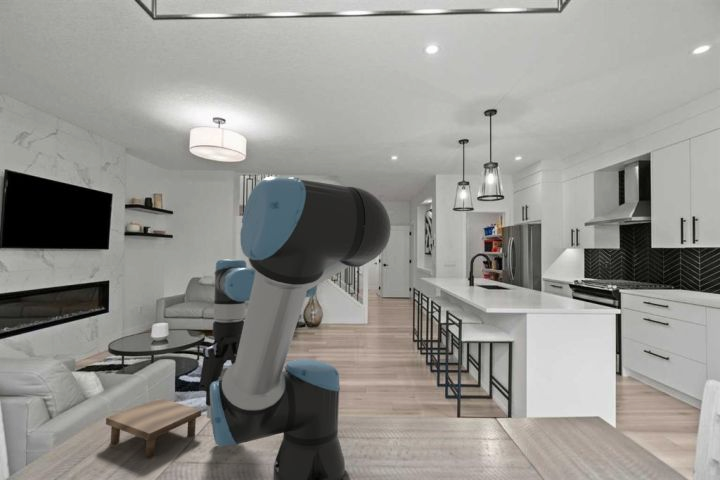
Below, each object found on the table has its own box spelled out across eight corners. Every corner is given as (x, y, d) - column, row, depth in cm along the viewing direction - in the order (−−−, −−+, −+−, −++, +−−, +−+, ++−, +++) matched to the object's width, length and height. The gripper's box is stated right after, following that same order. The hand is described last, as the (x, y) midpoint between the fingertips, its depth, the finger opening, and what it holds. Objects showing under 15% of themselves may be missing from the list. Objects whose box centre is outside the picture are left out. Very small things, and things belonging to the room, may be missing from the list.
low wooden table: (200, 433, 91) (201, 409, 92) (147, 461, 79) (149, 433, 79) (158, 419, 98) (160, 397, 98) (104, 443, 86) (106, 417, 86)
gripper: (245, 314, 102) (242, 396, 100) (184, 324, 83) (179, 425, 82) (266, 316, 98) (263, 400, 97) (207, 327, 80) (202, 431, 78)
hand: (225, 411), depth 89 cm, fingers closed on cup, 7 cm apart
